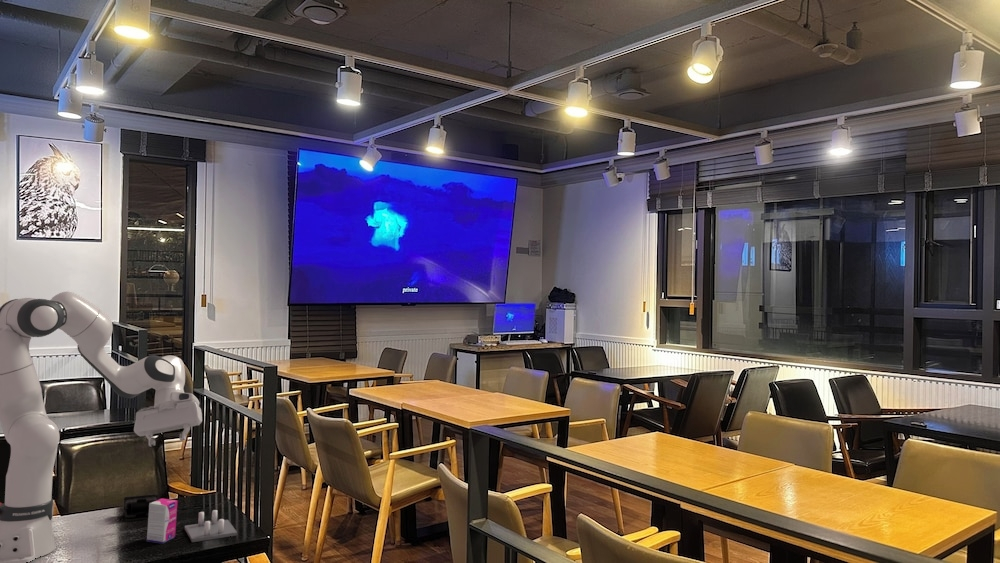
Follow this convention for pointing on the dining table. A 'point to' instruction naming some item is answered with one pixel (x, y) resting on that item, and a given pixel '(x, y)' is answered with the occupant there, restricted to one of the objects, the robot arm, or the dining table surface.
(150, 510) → the supplement box
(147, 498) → the end cap
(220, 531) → the pin tray
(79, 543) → the dining table surface
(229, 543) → the dining table surface
